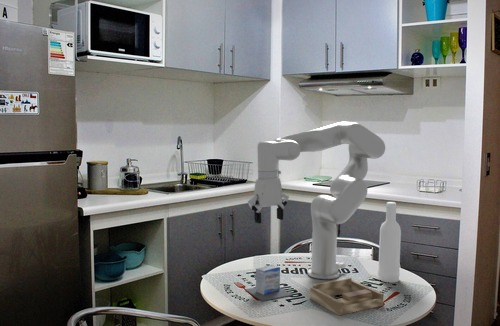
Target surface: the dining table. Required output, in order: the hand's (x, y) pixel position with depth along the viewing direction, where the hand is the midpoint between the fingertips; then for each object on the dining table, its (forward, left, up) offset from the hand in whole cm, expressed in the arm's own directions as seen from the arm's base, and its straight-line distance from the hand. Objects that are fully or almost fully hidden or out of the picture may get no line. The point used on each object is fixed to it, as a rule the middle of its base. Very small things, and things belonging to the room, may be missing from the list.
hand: (269, 220), depth 186 cm
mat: (+5, +9, -24) cm, 26 cm away
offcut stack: (-14, +33, -24) cm, 43 cm away
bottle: (-44, +17, -24) cm, 53 cm away
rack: (-14, +28, -24) cm, 39 cm away
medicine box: (+5, +8, -23) cm, 25 cm away
